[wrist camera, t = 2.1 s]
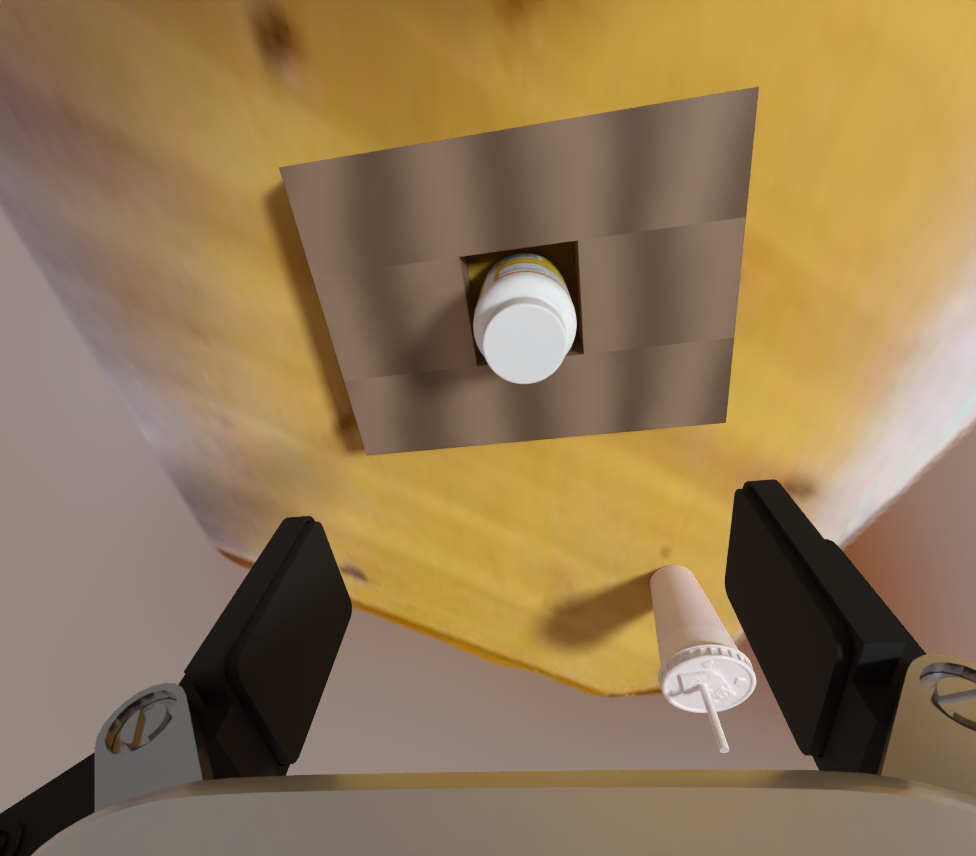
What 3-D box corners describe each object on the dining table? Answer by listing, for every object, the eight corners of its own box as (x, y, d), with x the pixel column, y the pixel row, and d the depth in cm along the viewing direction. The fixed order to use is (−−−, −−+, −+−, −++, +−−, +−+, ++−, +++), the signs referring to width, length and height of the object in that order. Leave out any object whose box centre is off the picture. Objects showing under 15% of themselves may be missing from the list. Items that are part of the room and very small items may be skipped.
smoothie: (663, 542, 41) (724, 709, 28) (727, 571, 42) (811, 744, 29) (619, 590, 44) (657, 761, 31) (679, 616, 45) (738, 790, 32)
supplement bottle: (524, 351, 33) (524, 418, 25) (464, 296, 32) (443, 347, 23) (584, 293, 31) (607, 345, 23) (523, 230, 30) (524, 261, 21)
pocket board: (734, 93, 26) (758, 86, 23) (710, 402, 34) (725, 422, 32) (301, 166, 29) (279, 167, 26) (377, 434, 37) (366, 455, 35)
